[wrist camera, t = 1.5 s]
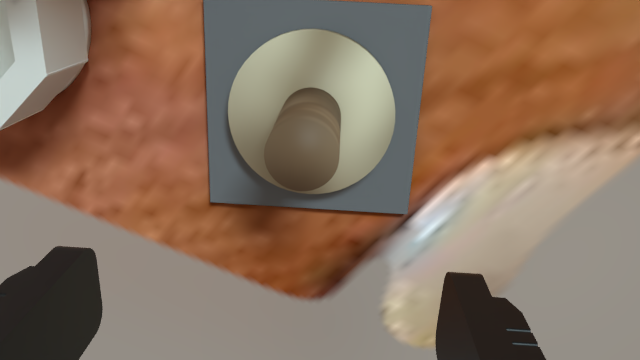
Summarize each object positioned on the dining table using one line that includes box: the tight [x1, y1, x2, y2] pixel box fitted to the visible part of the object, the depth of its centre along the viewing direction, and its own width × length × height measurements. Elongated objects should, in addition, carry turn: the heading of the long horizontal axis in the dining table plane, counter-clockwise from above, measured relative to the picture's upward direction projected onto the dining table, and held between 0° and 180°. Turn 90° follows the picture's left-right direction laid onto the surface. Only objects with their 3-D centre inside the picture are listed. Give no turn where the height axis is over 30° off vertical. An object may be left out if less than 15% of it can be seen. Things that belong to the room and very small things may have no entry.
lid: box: [228, 28, 395, 194], centre depth 24 cm, size 8×8×7 cm
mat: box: [203, 0, 432, 214], centre depth 28 cm, size 11×11×1 cm
